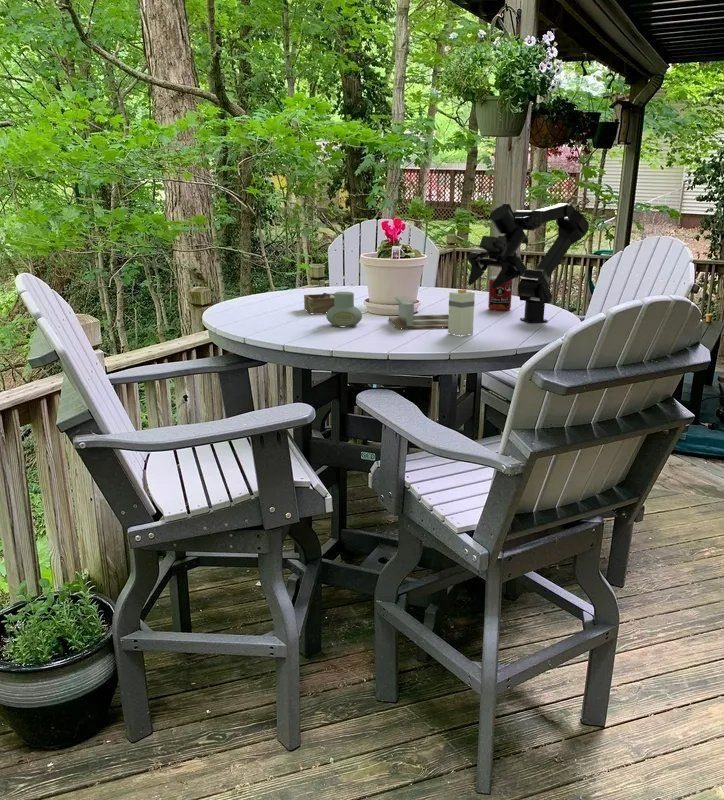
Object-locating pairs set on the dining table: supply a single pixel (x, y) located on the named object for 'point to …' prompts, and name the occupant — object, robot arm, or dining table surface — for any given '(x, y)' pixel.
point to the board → (423, 321)
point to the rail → (406, 311)
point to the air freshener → (344, 310)
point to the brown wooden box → (318, 303)
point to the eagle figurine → (326, 296)
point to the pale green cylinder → (461, 312)
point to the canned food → (500, 296)
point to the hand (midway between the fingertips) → (480, 286)
